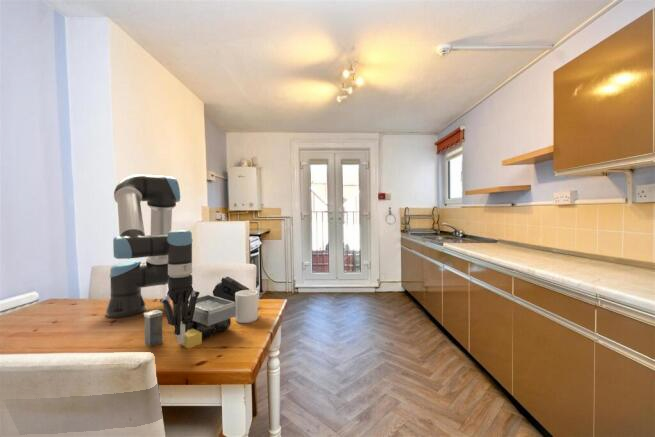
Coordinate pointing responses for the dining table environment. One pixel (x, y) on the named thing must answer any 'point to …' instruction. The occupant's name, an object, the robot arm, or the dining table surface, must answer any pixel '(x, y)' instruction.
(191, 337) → the block
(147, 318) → the grey tall block
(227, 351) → the dining table surface
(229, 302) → the grey open rectangular container
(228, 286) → the tool
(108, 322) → the dining table surface
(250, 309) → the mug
